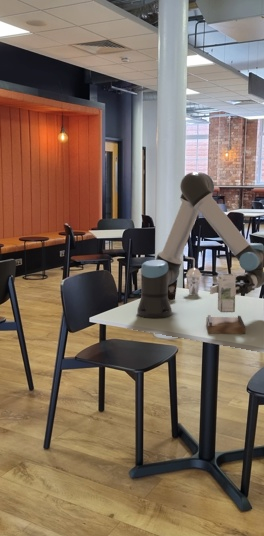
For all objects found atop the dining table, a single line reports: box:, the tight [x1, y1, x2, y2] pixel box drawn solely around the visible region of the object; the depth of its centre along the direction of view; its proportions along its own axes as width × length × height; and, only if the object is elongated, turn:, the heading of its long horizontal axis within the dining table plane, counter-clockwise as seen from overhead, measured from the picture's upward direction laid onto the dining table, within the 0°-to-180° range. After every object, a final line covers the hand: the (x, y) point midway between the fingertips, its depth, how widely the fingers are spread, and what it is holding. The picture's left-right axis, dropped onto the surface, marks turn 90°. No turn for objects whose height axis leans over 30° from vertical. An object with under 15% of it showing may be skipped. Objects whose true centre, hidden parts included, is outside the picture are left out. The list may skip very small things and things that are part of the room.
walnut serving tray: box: [205, 314, 246, 335], centre depth 209 cm, size 14×14×4 cm
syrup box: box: [217, 273, 237, 313], centre depth 207 cm, size 6×6×14 cm
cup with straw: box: [184, 256, 203, 296], centre depth 276 cm, size 8×9×20 cm
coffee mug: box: [168, 278, 178, 301], centre depth 266 cm, size 12×9×10 cm
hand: (221, 291), depth 203 cm, fingers closed on syrup box, 8 cm apart
